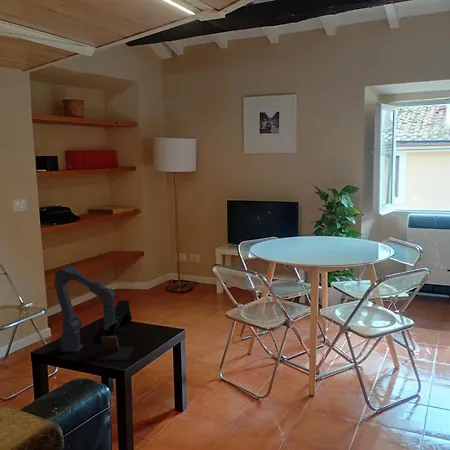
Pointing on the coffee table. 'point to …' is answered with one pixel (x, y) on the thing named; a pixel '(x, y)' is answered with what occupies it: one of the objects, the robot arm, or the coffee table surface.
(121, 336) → the coffee table surface
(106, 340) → the tile
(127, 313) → the gun
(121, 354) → the mat
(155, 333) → the coffee table surface
